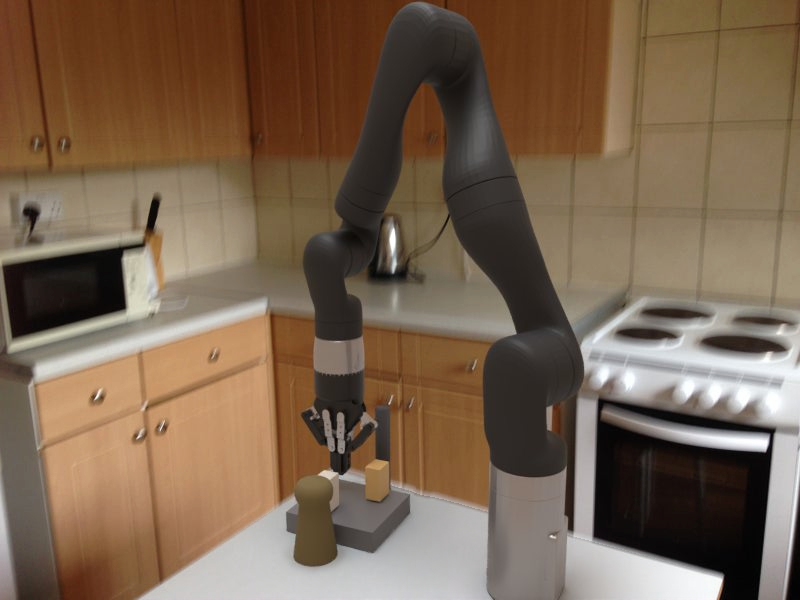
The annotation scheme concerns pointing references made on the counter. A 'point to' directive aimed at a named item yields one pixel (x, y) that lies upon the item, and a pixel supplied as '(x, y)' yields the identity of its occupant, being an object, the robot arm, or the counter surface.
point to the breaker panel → (361, 516)
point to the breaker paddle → (377, 480)
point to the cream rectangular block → (335, 483)
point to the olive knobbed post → (314, 522)
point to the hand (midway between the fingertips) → (340, 472)
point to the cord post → (383, 435)
